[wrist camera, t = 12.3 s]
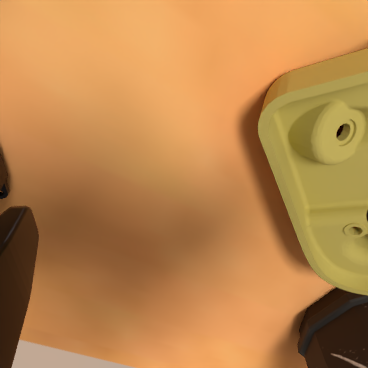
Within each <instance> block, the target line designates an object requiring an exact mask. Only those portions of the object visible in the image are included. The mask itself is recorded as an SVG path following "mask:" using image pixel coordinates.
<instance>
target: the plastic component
mask: <svg viewBox="0 0 368 368" xmlns="http://www.w3.org/2000/svg"><path fill="white" fill-rule="evenodd" d="M342 124H343V131H342V133H341V135H340V136H338V137H337V138H336V133H337V130H338V128H339V127H340V126H341V125H342ZM258 135H259V138H260V141H261V143H262V146H263V148H264V151H265V154H266V156H267V159H268V162H269V164H270V167H271V169H272V172H273V175H274V177H275V180H276V183H277V185H278V188H279V190H280V193H281V196H282V198H283V201H284V203H285V206H286V209H287V211H288V214H289V217H290V219H291V222H292V224H293V227H294V230H295V232H296V235H297V238H298V240H299V243H300V245H301V248H302V250H303V252H304V255H305V257H306V259H307V261H308V263H309V264H310V266H311V267H312V269H313V270H314V271H315V272H316V274H317V275H318V276H320V277H321V278H322V279H323V280H325V281H326V282H328V283H329V284H331V285H333V286H335V287H338V288H340V289H343V290H346V291H349V292H352V293H357V294H362V295H368V222H367V218H366V213H367V210H368V48H366V49H363V50H359V51H356V52H353V53H349V54H346V55H343V56H339V57H336V58H333V59H329V60H326V61H323V62H319V63H316V64H313V65H309V66H306V67H303V68H299V69H296V70H293V71H290V72H288V73H286V74H284V75H282V76H281V77H280V78H278V79H277V80H276V81H275V82H274V83H273V84H272V85H271V87H270V88H269V90H268V92H267V94H266V97H265V100H264V104H263V107H262V111H261V114H260V118H259V122H258Z"/></svg>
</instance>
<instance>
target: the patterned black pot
mask: <svg viewBox="0 0 368 368" xmlns="http://www.w3.org/2000/svg"><path fill="white" fill-rule="evenodd" d="M299 332H300V340H299V342H298V344H297V345H298V352H299V353H300V354H301V355H302V356H304V357H305V359H306V362H307V366H308V368H368V295H362V294H357V293H352V292H349V291H346V290H343V289H340V288H338V287H337V288H335V289H334V290H332V291H331V292H330V293H328V294H327V295H325V296H324V297H323V298H321V299H320V300H318V301H317V302H316V303H314V304H313V305H311V306H310V307H309V308H307V311H306V314H305V316H304V319H303V321H302V324H301V326H300V329H299Z"/></svg>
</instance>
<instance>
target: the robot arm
mask: <svg viewBox="0 0 368 368" xmlns="http://www.w3.org/2000/svg"><path fill="white" fill-rule="evenodd" d="M7 176H8V175H7V172H6V169H5V166H4V163H3V160H2V157H1V154H0V190H1V191H3V192H0V199H3V198H6V197H7V196H8V193H9V187H8V184H7V181H6V178H7ZM366 218H367V222H368V210H367V213H366ZM38 240H39V234H38V229H37V226H36V222H35V219H34V216H33V213H32V210H31V208H30V207H28V206H14V207H10V208H8V209H7V210H6V211H5V212H3V213H2V214H1V215H0V368H11V367H12V364H13V360H14V356H15V353H16V349H17V345H18V341H19V338H20V334H21V330H22V327H23V323H24V319H25V316H26V312H27V308H28V304H29V300H30V295H31V289H32V282H33V275H34V268H35V261H36V254H37V247H38Z"/></svg>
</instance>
